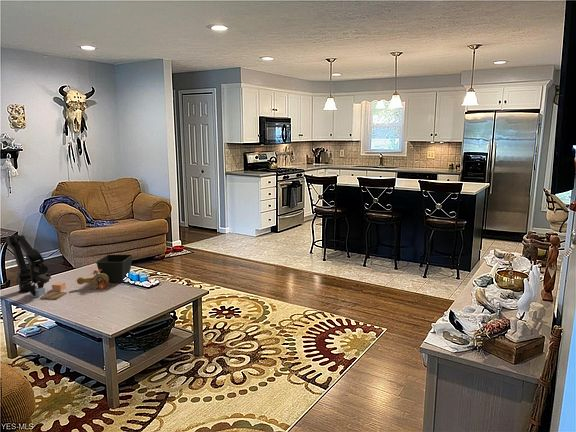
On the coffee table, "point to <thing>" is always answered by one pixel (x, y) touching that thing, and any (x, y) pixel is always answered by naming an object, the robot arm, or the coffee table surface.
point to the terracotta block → (59, 286)
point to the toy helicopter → (96, 280)
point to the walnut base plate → (53, 295)
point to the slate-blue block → (38, 292)
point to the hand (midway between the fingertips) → (37, 294)
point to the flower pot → (115, 267)
